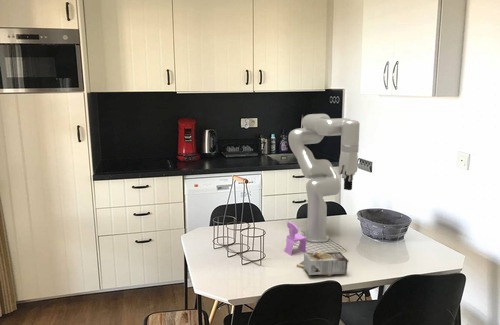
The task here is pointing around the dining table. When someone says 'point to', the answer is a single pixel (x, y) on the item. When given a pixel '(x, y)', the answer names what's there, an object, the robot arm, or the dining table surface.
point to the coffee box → (325, 263)
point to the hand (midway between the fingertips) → (347, 189)
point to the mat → (304, 268)
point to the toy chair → (294, 239)
